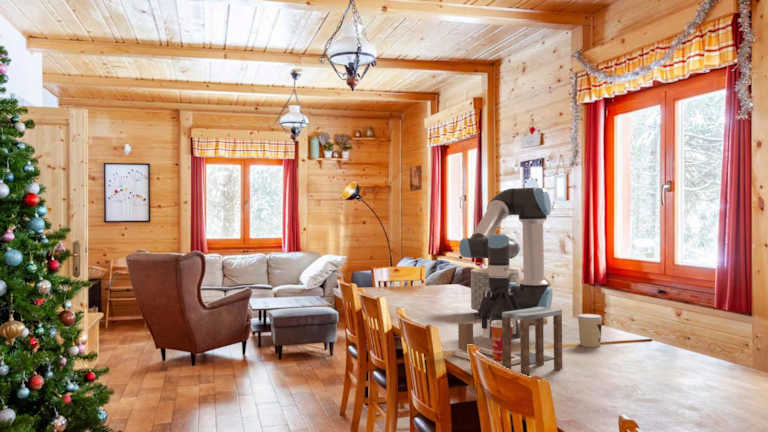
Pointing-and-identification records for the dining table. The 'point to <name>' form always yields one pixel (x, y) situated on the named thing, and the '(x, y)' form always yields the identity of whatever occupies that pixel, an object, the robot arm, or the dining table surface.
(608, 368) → the dining table surface
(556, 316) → the small wooden stool
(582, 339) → the coffee cup
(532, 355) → the coaster
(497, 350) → the coffee cup
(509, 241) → the robot arm
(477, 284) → the planter
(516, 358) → the frame
